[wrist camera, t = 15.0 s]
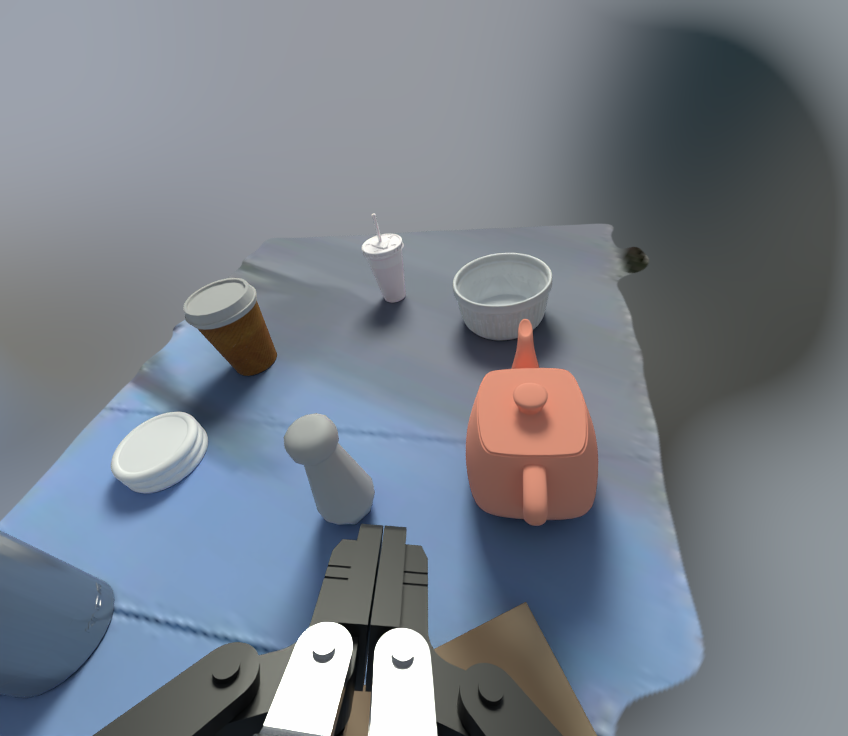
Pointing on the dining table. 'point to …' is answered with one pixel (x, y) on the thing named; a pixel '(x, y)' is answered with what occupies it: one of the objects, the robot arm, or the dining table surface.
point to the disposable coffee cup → (232, 324)
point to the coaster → (159, 452)
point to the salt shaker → (330, 470)
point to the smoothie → (386, 263)
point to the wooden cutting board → (506, 670)
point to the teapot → (531, 441)
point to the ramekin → (502, 293)
